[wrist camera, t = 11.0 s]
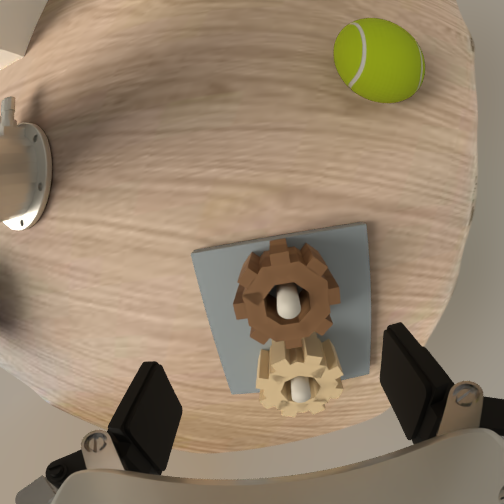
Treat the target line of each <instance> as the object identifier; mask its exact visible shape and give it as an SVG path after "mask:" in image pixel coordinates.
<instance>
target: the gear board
mask: <svg viewBox="0 0 504 504" xmlns="http://www.w3.org/2000/svg"><path fill="white" fill-rule="evenodd" d="M282 238H285V239H286V243H287V247H293V246H295V247H296V248H297V249H299V250H301V248H302V247H303V246H304V244H305V243H307V244H309V245H310V246H311V247H313V248H314V249H316V250H317V251H318V252H319V253H320V255H321V257H322V258H323V260H324V261H325V263H326V265H327V266H328V269H329V271H330V272H331V274H332V276H333V277H334V279H335V281H336V282H337V284H338V286H339V289H340V302H341V303H340V304H335V305H330V311H331V313H330V317H331V319H332V322H333V325H332V326H331V327H330V328H329V329H328V330H327V331H326V333H325V334H324V335H323V336H321V335H320V334H318V333H316V332H315V331H314V332H313V333H312V334H311V335H310V337H305V338H301V340H302V347H297V348H291V349H286V348H285V342H284V341H280V342H276V341H274V340H272V339H271V338H270V339H269V340H268V341H267V342H266V343H265V344H264V345H262V344H261V343H259V342H257V341H256V340H254V339H252V338H251V337H250V331H251V326H249V323H248V319H240V320H236V316H235V312H234V307H233V302H234V299H235V295H236V292H237V289H238V286H239V283H237V281H238V278H239V275H240V272H241V269H242V266H243V264H244V262H245V261H246V259H247V258H248V256H249V255H250V254H251V252H253V253H255V254H256V255H258V256H259V257H260V256H261V255H262V254H263V252H264V251H269V247H270V240H276V239H282ZM191 257H192V261H193V265H194V269H195V273H196V277H197V280H198V284H199V288H200V292H201V295H202V299H203V303H204V306H205V310H206V313H207V317H208V320H209V324H210V327H211V331H212V334H213V337H214V341H215V344H216V347H217V351H218V354H219V357H220V360H221V363H222V366H223V370H224V373H225V376H226V379H227V382H228V385H229V388H230V391H231V394H245V393H257V392H260V396H259V402H260V403H261V404H262V405H263V406H264V407H265V408H266V409H269V408H271V407H274V406H275V408H276V409H277V410H282V416H287V417H295V416H296V414H297V412H300V413H305V412H307V411H310V412H311V413H312V414H313V415H314V414H316V413H318V412H321V411H323V410H325V405H324V404H326V403H328V401H329V399H330V398H334V399H338V398H339V396H340V395H341V393H342V391H343V385H342V382H341V380H344V379H349V378H354V377H358V376H362V375H367V374H369V368H370V348H371V284H370V263H369V249H368V236H367V226H366V224H365V223H363V222H357V223H351V224H345V225H339V226H332V227H326V228H320V229H314V230H308V231H302V232H296V233H290V234H284V235H278V236H272V237H266V238H260V239H255V240H249V241H243V242H237V243H232V244H226V245H220V246H214V247H209V248H203V249H198V250H194V251H193V252H192V253H191ZM302 289H303V288H302V287H300V286H299V285H297V284H296V283H294V282H291V283H285V284H279V285H274V286H273V288H272V289H271V290H270V292H269V294H270V295H272V296H273V297H275V298H276V299H277V311H278V314H279V315H280V316H281V317H282V318H285V319H292V318H295V317H296V316H297V315H298V314H299V313H300V311H301V305H300V301H299V296H298V294H299V293H300V292H301V291H302Z"/></svg>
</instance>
